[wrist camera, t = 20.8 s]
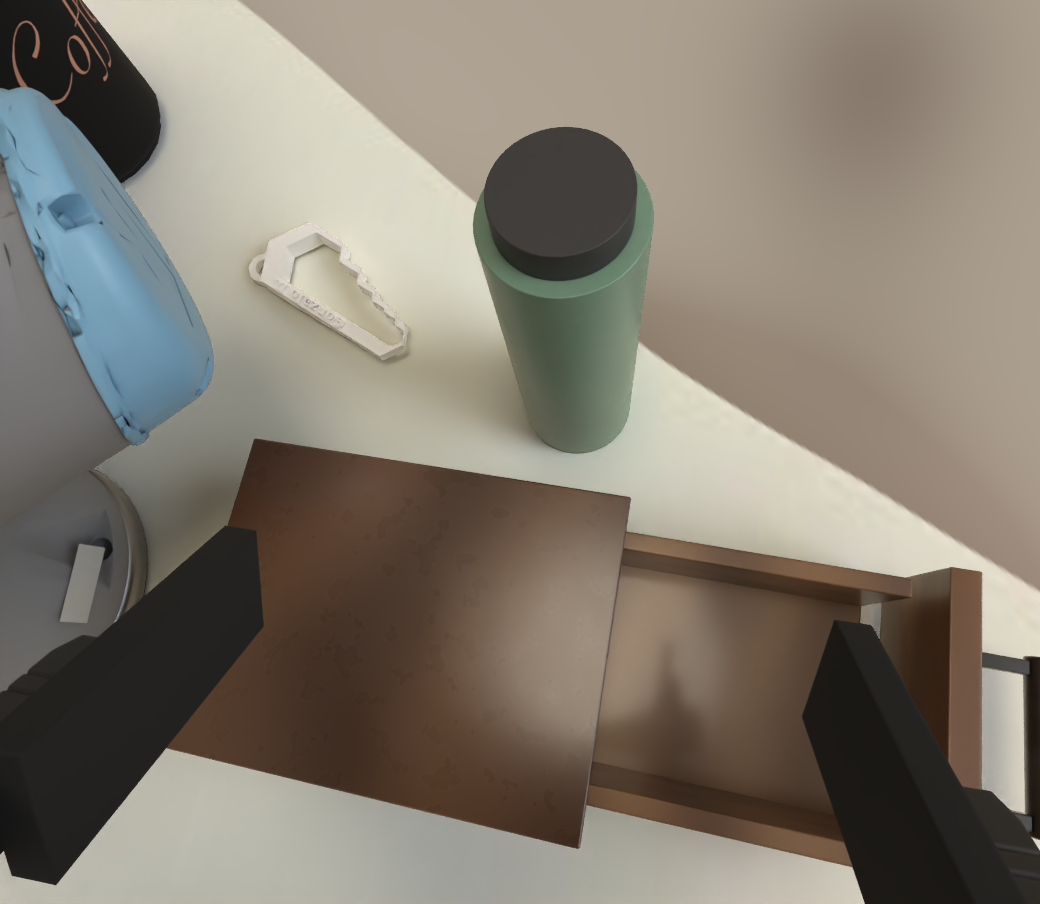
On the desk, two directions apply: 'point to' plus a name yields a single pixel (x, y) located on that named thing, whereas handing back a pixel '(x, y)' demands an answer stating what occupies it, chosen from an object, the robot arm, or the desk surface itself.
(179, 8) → the desk surface
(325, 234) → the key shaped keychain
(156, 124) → the coffee jar
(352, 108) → the desk surface
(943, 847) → the robot arm
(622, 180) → the bottle
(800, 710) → the drawer
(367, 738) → the cabinet
